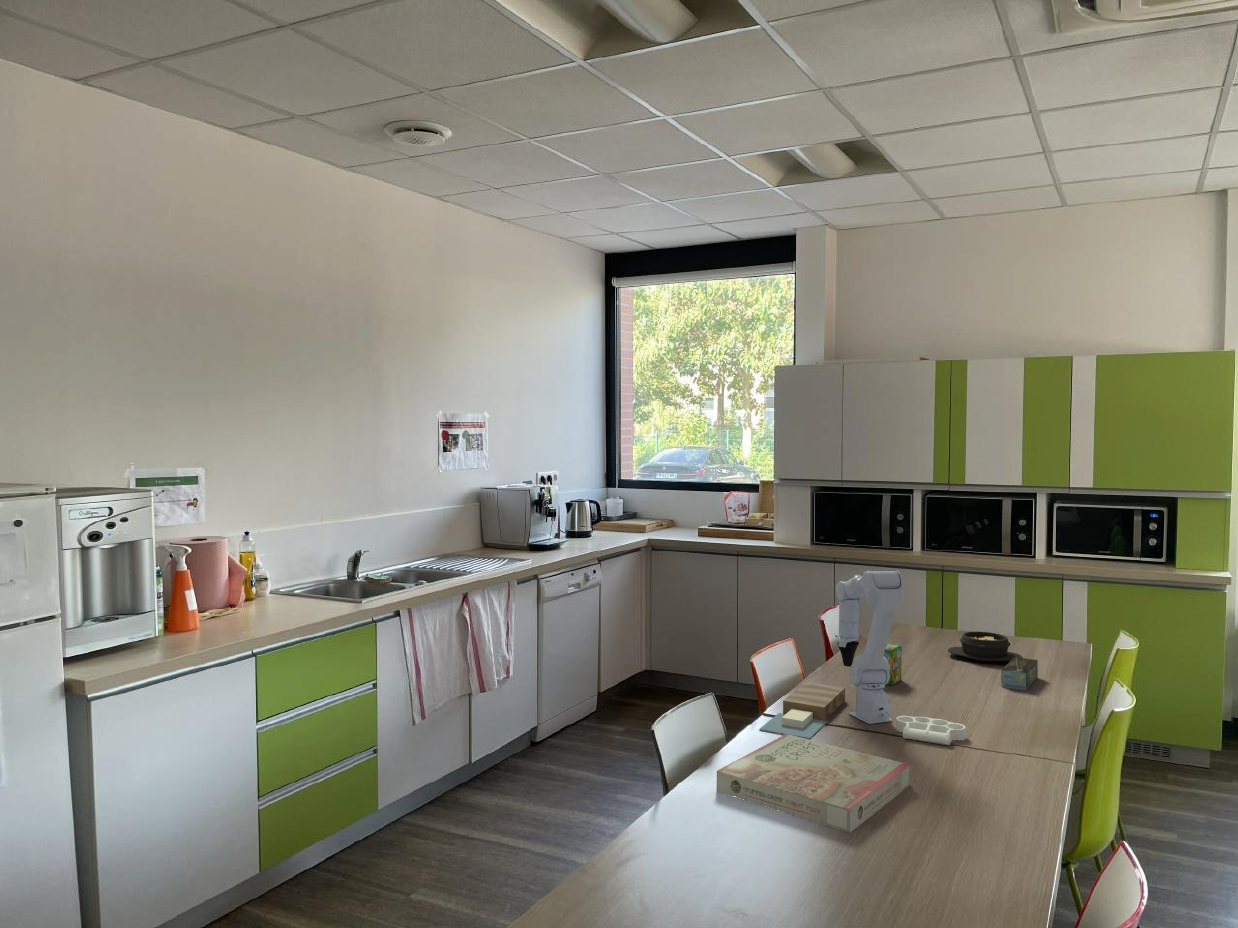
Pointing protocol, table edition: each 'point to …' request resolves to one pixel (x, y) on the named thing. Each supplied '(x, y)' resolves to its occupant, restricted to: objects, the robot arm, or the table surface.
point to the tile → (797, 718)
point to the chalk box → (894, 662)
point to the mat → (805, 732)
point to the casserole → (984, 647)
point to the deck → (815, 699)
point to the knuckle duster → (930, 729)
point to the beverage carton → (1019, 673)
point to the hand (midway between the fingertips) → (847, 665)
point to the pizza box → (815, 781)
